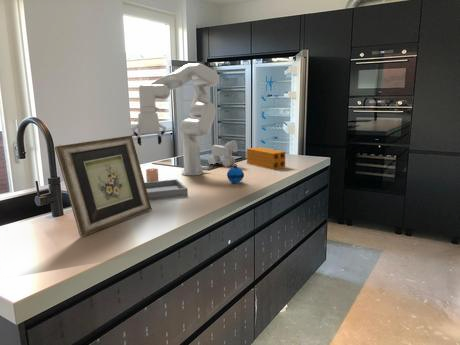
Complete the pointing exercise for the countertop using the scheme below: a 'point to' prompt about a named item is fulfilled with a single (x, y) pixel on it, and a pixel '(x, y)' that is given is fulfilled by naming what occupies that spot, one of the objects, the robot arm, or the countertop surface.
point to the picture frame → (103, 182)
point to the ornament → (235, 174)
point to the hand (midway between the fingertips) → (149, 144)
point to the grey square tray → (165, 189)
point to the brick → (266, 158)
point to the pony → (223, 154)
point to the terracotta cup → (152, 175)
